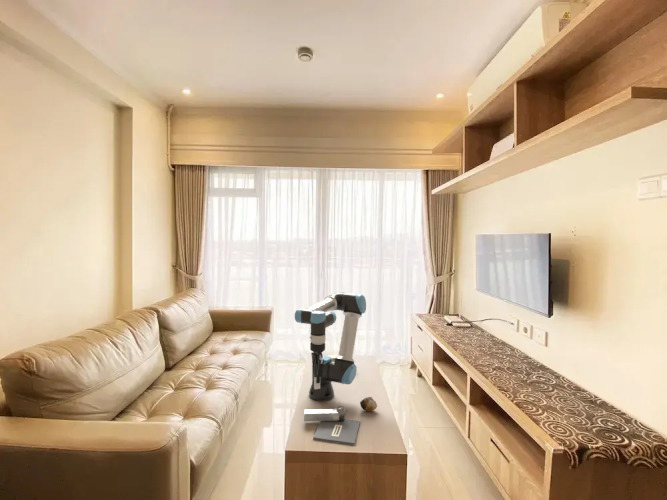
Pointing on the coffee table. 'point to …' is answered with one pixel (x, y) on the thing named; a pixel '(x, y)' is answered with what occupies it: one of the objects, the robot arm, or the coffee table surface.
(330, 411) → the swing bar
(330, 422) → the panel
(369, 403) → the seashell
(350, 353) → the robot arm
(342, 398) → the coffee table surface
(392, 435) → the coffee table surface
